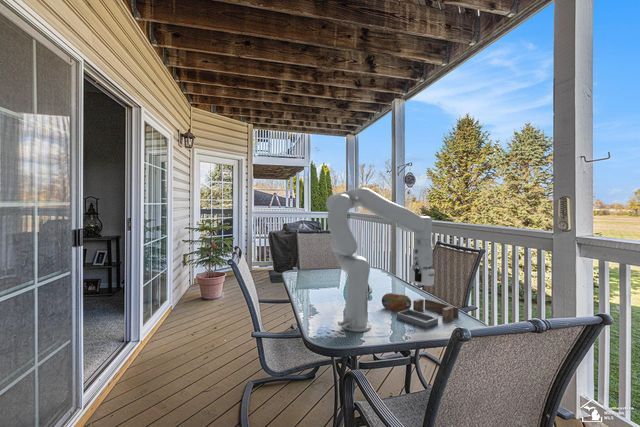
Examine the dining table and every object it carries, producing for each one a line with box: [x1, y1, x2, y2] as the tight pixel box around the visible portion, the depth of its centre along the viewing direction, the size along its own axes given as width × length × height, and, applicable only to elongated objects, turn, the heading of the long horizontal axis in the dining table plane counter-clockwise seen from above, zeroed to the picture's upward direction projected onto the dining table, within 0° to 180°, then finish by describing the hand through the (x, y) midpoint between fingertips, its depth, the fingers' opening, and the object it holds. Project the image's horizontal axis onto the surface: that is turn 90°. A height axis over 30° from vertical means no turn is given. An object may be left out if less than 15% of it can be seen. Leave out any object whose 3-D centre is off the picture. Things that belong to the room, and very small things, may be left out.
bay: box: [412, 298, 460, 324], centre depth 155 cm, size 11×18×6 cm, turn 38°
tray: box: [396, 308, 439, 330], centre depth 145 cm, size 10×16×3 cm, turn 38°
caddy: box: [408, 266, 437, 287], centre depth 146 cm, size 5×11×7 cm, turn 39°
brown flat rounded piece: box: [381, 292, 412, 312], centre depth 162 cm, size 15×3×8 cm, turn 62°
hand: (421, 280), depth 147 cm, fingers closed on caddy, 5 cm apart
